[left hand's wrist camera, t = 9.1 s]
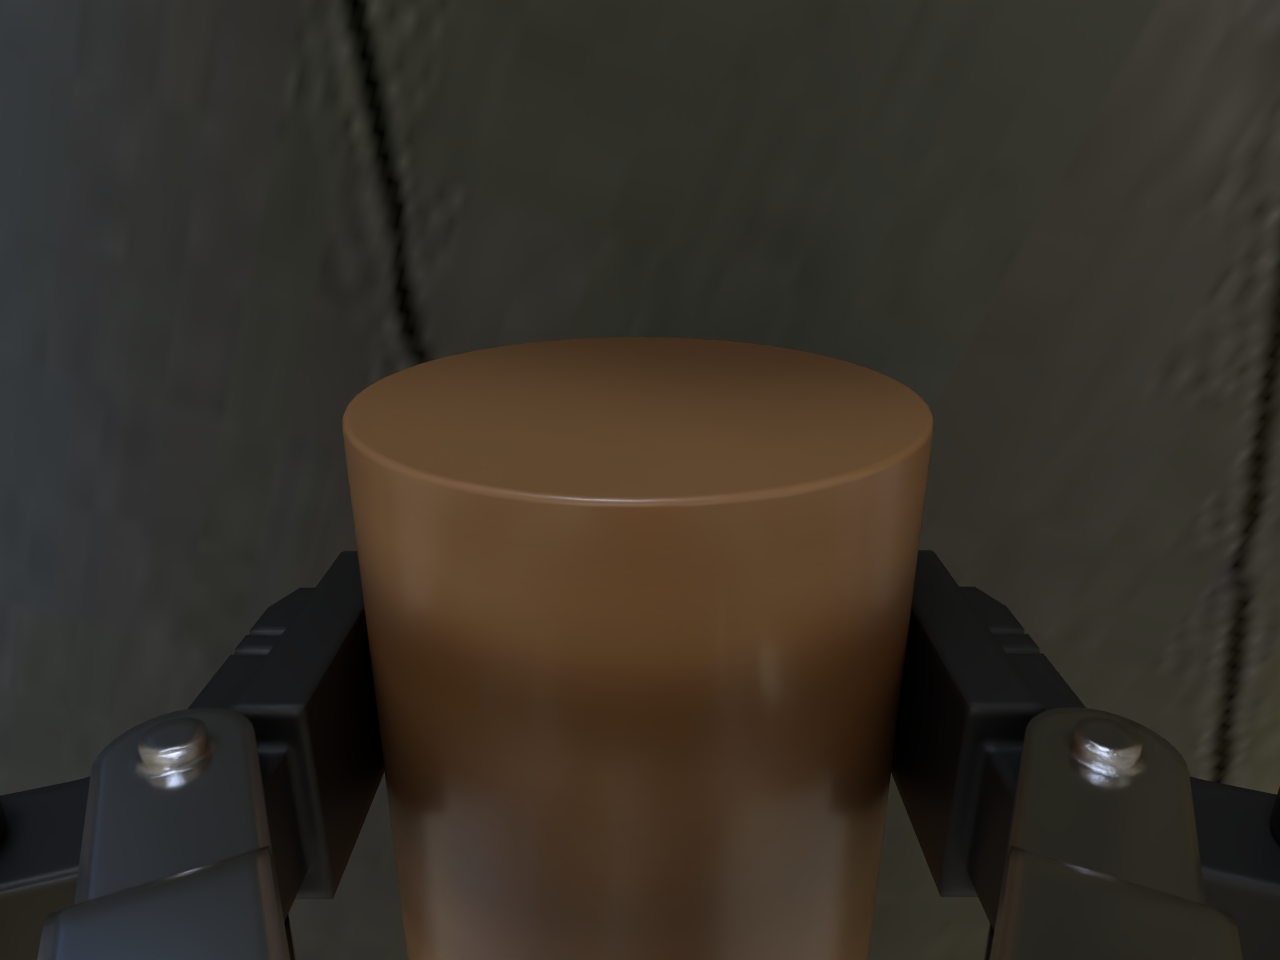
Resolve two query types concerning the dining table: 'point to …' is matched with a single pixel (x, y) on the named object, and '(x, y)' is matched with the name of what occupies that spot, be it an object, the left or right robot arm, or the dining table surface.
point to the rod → (637, 643)
